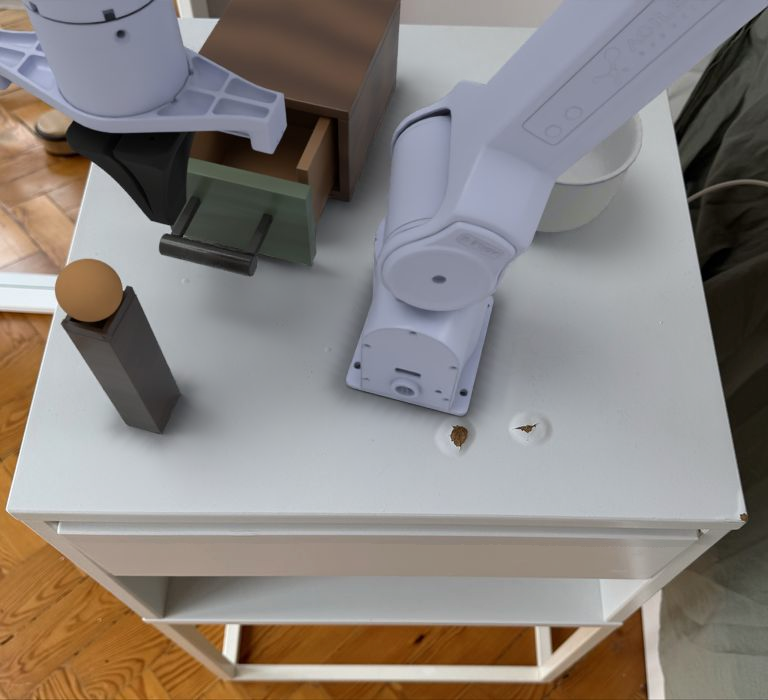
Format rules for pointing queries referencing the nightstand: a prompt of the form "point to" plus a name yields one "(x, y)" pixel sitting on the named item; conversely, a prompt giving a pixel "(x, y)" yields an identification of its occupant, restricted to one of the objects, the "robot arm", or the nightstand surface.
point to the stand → (128, 363)
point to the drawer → (256, 196)
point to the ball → (88, 290)
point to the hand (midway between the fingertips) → (168, 210)
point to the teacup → (592, 180)
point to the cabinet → (318, 63)
